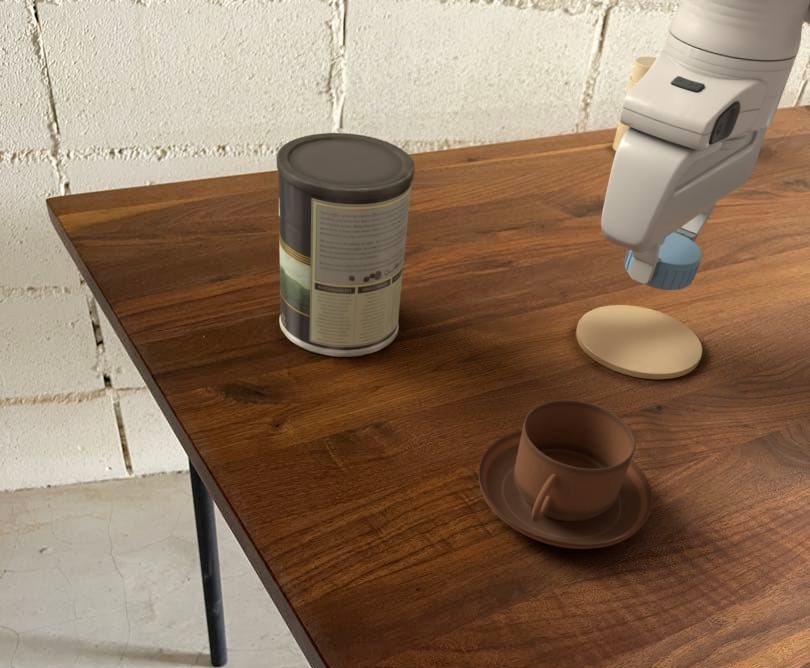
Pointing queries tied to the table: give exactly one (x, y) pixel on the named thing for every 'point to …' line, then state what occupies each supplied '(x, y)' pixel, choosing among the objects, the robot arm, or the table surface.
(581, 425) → the cup and saucer
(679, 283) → the lid
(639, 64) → the jar
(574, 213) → the table surface
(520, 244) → the table surface
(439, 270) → the table surface
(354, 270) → the coffee can
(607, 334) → the coaster
